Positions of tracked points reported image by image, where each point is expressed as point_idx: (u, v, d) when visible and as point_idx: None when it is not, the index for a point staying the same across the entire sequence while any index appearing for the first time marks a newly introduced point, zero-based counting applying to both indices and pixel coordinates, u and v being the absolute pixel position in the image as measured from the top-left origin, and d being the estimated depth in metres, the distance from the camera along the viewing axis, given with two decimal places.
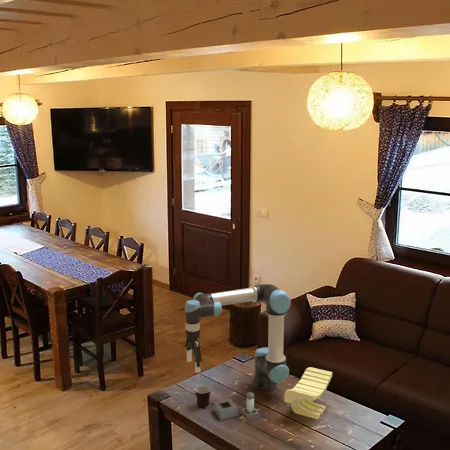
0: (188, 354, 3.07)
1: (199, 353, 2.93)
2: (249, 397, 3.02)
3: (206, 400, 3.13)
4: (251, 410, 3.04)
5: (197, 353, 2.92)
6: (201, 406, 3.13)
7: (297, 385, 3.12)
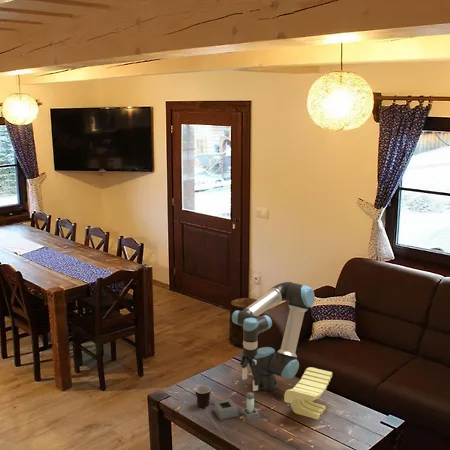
0: (244, 371, 3.07)
1: (257, 371, 2.92)
2: (249, 397, 3.02)
3: (206, 400, 3.13)
4: (251, 410, 3.04)
5: (255, 372, 2.92)
6: (201, 406, 3.13)
7: (297, 385, 3.12)
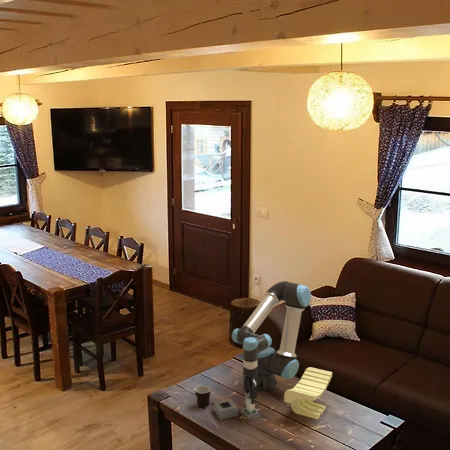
0: None
1: (255, 392, 2.98)
2: (249, 397, 3.02)
3: (206, 400, 3.13)
4: (251, 410, 3.04)
5: (253, 392, 2.97)
6: (201, 406, 3.13)
7: (297, 385, 3.12)
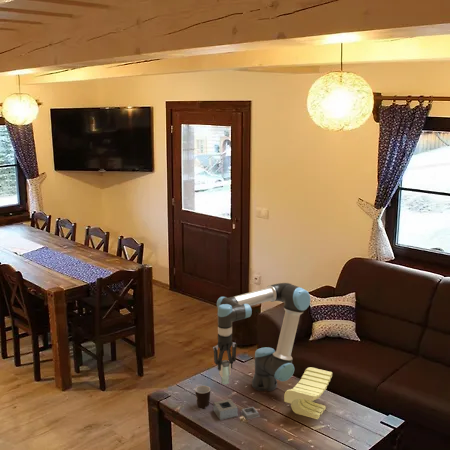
0: None
1: (215, 357, 2.97)
2: None
3: (206, 400, 3.13)
4: (221, 377, 3.02)
5: (214, 356, 2.98)
6: (201, 406, 3.13)
7: (297, 385, 3.12)
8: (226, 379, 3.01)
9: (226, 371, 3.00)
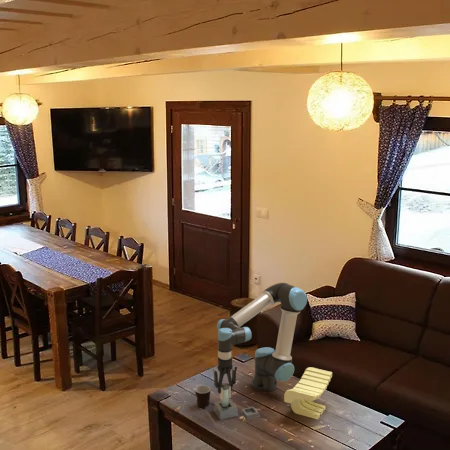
0: None
1: (215, 380, 3.00)
2: None
3: (206, 400, 3.13)
4: (221, 400, 3.05)
5: (214, 379, 3.01)
6: (201, 406, 3.13)
7: (297, 385, 3.12)
8: (226, 402, 3.04)
9: (226, 394, 3.03)
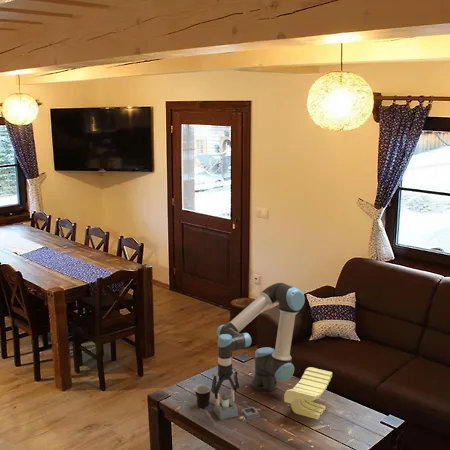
0: (231, 392, 3.07)
1: (213, 385, 3.00)
2: None
3: (206, 400, 3.13)
4: None
5: (212, 384, 3.01)
6: (201, 406, 3.13)
7: (297, 385, 3.12)
8: None
9: (226, 404, 3.04)
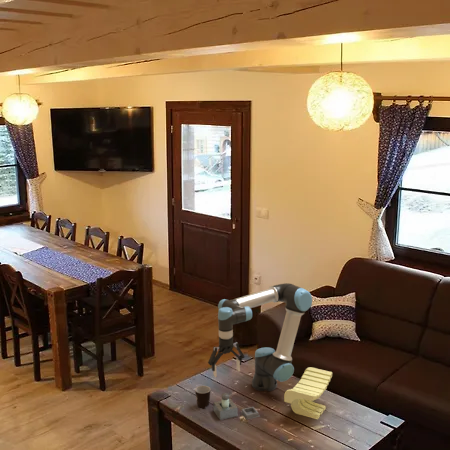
0: (237, 362, 3.06)
1: (211, 357, 2.98)
2: None
3: (206, 400, 3.13)
4: None
5: None
6: (201, 406, 3.13)
7: (297, 385, 3.12)
8: None
9: (226, 404, 3.04)
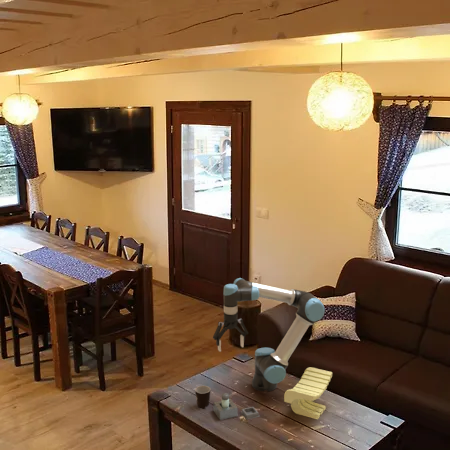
0: (241, 338, 3.15)
1: (216, 332, 3.07)
2: None
3: (206, 400, 3.13)
4: None
5: (215, 331, 3.08)
6: (201, 406, 3.13)
7: (297, 385, 3.12)
8: None
9: (226, 404, 3.04)
